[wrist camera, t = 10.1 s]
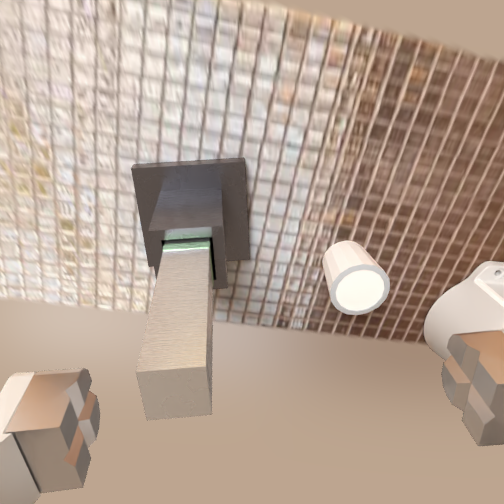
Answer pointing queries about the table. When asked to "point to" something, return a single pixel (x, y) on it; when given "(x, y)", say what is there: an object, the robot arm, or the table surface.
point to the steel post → (179, 334)
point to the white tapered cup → (354, 278)
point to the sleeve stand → (194, 208)
